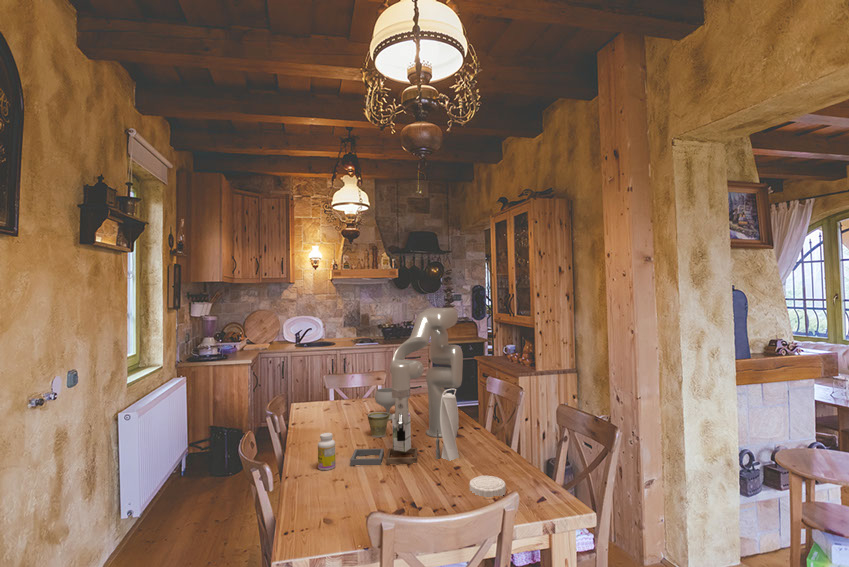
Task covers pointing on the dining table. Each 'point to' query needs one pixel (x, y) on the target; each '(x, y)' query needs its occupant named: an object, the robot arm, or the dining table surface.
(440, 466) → the dining table surface
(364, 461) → the grey frame
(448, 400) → the skyscraper
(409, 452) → the walnut frame
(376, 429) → the ceramic cup
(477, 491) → the mooncake
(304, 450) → the dining table surface
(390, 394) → the chalice
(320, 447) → the supplement bottle
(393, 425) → the syrup box
